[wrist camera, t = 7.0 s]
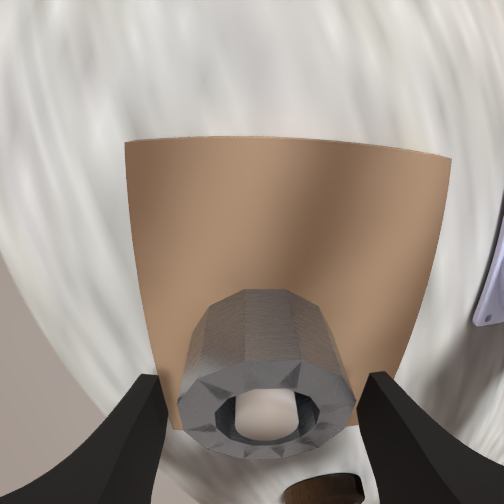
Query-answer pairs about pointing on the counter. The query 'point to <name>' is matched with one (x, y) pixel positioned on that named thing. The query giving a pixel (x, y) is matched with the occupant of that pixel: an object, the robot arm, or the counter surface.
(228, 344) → the hub ring
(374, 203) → the post board
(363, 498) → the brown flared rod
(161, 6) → the counter surface
